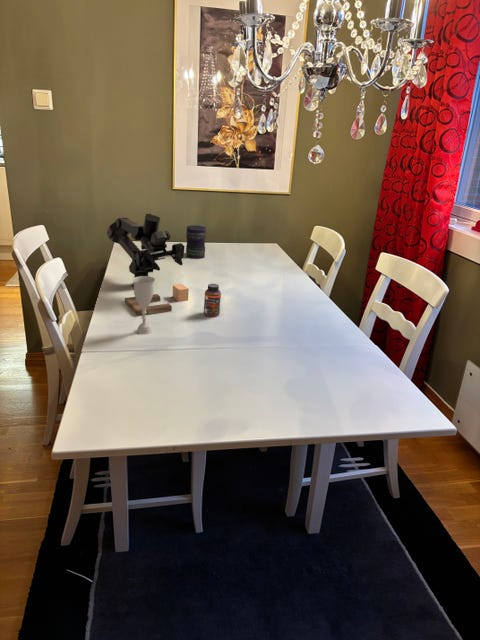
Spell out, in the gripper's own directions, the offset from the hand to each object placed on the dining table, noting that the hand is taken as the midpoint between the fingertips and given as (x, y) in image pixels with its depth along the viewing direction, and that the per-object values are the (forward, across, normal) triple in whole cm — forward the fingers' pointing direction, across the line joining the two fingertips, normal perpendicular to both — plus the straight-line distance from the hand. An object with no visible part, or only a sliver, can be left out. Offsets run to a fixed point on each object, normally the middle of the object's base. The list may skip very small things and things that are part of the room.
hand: (170, 266), depth 179 cm
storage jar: (-50, +42, +35) cm, 74 cm away
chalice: (+20, -19, +8) cm, 29 cm away
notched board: (+2, -9, +15) cm, 18 cm away
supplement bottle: (+18, +9, +12) cm, 23 cm away
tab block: (-1, +6, +17) cm, 18 cm away
